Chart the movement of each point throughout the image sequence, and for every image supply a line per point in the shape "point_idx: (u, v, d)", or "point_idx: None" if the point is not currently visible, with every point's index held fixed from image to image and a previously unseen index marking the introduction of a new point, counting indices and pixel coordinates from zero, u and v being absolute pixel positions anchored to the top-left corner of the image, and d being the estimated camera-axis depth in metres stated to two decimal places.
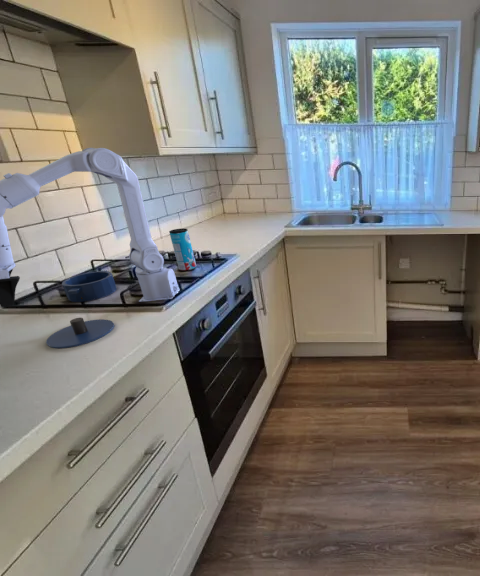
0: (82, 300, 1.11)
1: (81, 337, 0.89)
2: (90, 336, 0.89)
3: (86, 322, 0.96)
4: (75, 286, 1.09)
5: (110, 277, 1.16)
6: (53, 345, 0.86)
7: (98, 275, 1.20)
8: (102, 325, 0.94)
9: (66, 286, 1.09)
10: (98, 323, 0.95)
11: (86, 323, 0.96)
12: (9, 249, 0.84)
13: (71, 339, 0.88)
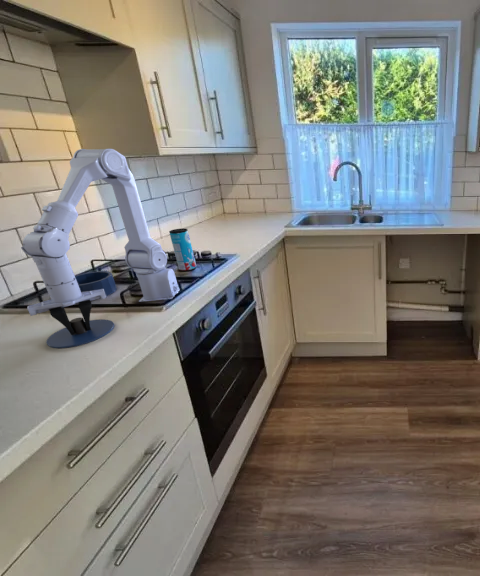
0: None
1: (81, 337, 0.89)
2: (90, 336, 0.89)
3: None
4: None
5: (110, 277, 1.16)
6: (53, 345, 0.86)
7: (98, 275, 1.20)
8: (102, 325, 0.94)
9: None
10: (98, 323, 0.95)
11: None
12: None
13: (72, 339, 0.88)
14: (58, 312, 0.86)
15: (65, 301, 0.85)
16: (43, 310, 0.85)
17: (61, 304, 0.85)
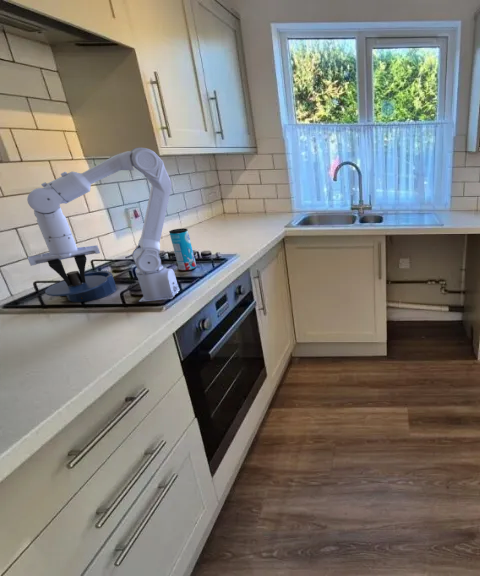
0: (82, 300, 1.11)
1: (77, 288, 0.97)
2: (85, 287, 0.98)
3: None
4: None
5: (110, 277, 1.16)
6: (51, 293, 0.94)
7: (98, 275, 1.20)
8: (96, 279, 1.03)
9: None
10: (92, 278, 1.04)
11: None
12: None
13: (68, 289, 0.97)
14: (56, 263, 0.94)
15: (62, 253, 0.94)
16: (42, 261, 0.94)
17: (58, 256, 0.93)
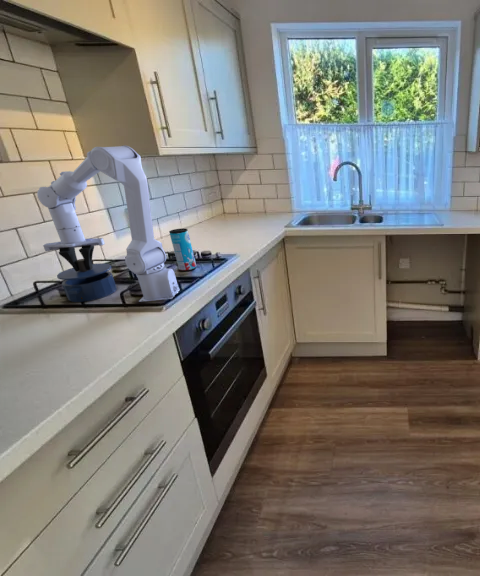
0: (82, 300, 1.11)
1: (80, 274, 1.11)
2: (85, 274, 1.10)
3: (95, 264, 1.19)
4: (75, 286, 1.09)
5: (110, 277, 1.16)
6: (59, 276, 1.09)
7: (98, 275, 1.20)
8: (101, 268, 1.16)
9: (66, 286, 1.09)
10: (101, 266, 1.17)
11: (95, 265, 1.18)
12: None
13: (73, 274, 1.11)
14: (64, 251, 1.08)
15: (68, 243, 1.07)
16: (55, 248, 1.09)
17: None
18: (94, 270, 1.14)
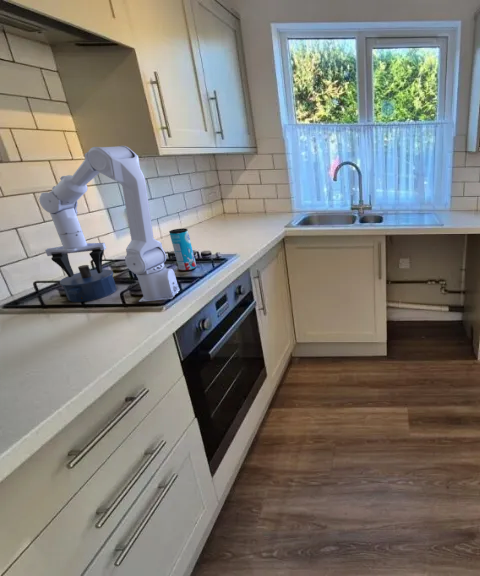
0: (82, 300, 1.11)
1: (82, 280, 1.11)
2: (88, 280, 1.11)
3: None
4: (75, 286, 1.09)
5: (110, 277, 1.16)
6: (61, 283, 1.10)
7: None
8: (104, 274, 1.16)
9: (66, 286, 1.09)
10: (103, 272, 1.18)
11: None
12: None
13: (76, 280, 1.11)
14: (57, 257, 1.08)
15: (70, 248, 1.08)
16: (57, 253, 1.09)
17: (67, 250, 1.08)
18: (96, 276, 1.14)
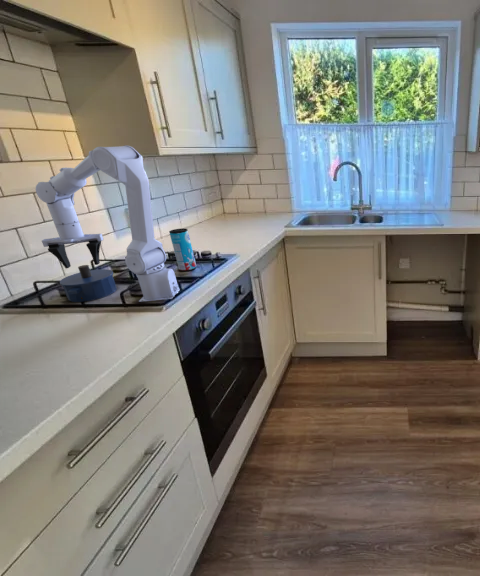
0: (82, 300, 1.11)
1: (82, 280, 1.11)
2: (88, 280, 1.11)
3: (98, 270, 1.20)
4: (75, 286, 1.09)
5: (110, 277, 1.16)
6: (61, 283, 1.10)
7: None
8: (104, 274, 1.16)
9: (66, 286, 1.09)
10: (103, 272, 1.18)
11: (97, 271, 1.19)
12: None
13: (76, 280, 1.11)
14: (53, 248, 1.07)
15: (66, 238, 1.07)
16: (54, 244, 1.08)
17: (63, 240, 1.07)
18: (96, 276, 1.14)
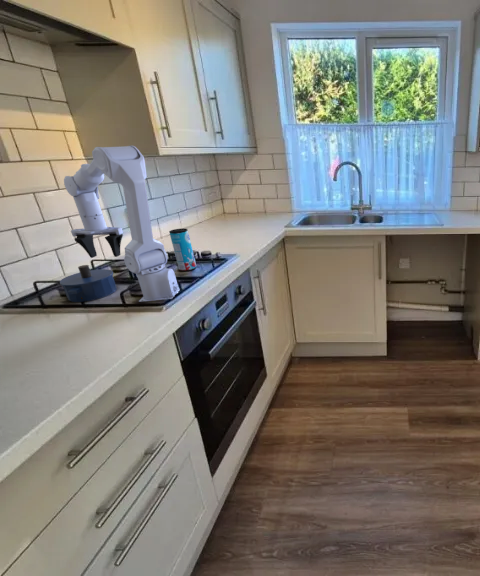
0: (82, 300, 1.11)
1: (82, 280, 1.11)
2: (88, 280, 1.11)
3: (98, 270, 1.20)
4: (75, 286, 1.09)
5: (110, 277, 1.16)
6: (61, 283, 1.10)
7: None
8: (104, 274, 1.16)
9: (66, 286, 1.09)
10: (103, 272, 1.18)
11: (97, 271, 1.19)
12: None
13: (76, 280, 1.11)
14: (79, 238, 1.14)
15: (88, 230, 1.12)
16: (81, 234, 1.15)
17: None
18: (96, 276, 1.14)
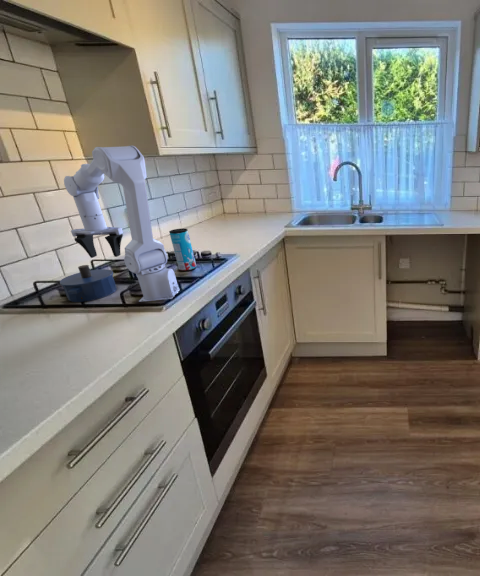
0: (82, 300, 1.11)
1: (82, 280, 1.11)
2: (88, 280, 1.11)
3: (98, 270, 1.20)
4: (75, 286, 1.09)
5: (110, 277, 1.16)
6: (61, 283, 1.10)
7: None
8: (104, 274, 1.16)
9: (66, 286, 1.09)
10: (103, 272, 1.18)
11: (97, 271, 1.19)
12: None
13: (76, 280, 1.11)
14: (79, 238, 1.14)
15: (88, 230, 1.12)
16: (81, 234, 1.15)
17: None
18: (96, 276, 1.14)
